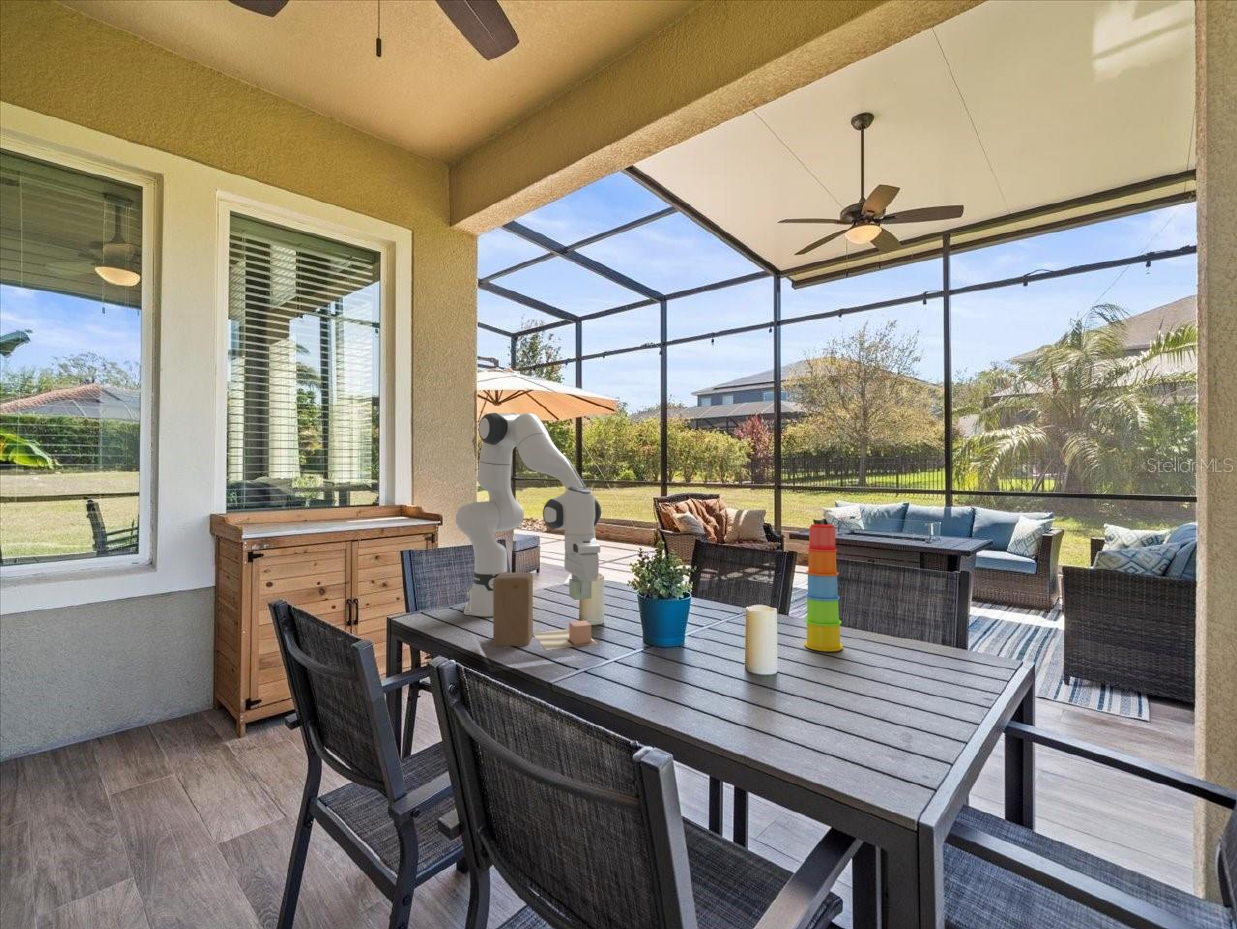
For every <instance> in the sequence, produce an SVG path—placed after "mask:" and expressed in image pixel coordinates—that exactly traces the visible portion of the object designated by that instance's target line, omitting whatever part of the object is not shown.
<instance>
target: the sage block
mask: <svg viewBox="0 0 1237 929" xmlns="http://www.w3.org/2000/svg"><path fill="white" fill-rule="evenodd" d="M568 582H569V584H568V585H569V586H568V588H569V590H568V592H569V593H568V595H569V597H570V598H571V599H572V600H574V601H577V600H590V599H592V581H590V582H589V586H588V594H585V595H583V594H581V593H580V588H581V583H582V582H581V579H580V578H577V579H572V578H569V580H568Z"/></svg>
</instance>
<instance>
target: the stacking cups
mask: <svg viewBox="0 0 1237 929" xmlns="http://www.w3.org/2000/svg"><path fill="white" fill-rule="evenodd" d="M834 526H835V525H834V524H826V523H825V524H823V523H822V524H819V523H815V524H813V523H811V524H810V526H809V531H808V532H809V533H808V534H809V537H808V538H809V539H808V540H809V541H808V542H809V544H808V547H807V548H806V549H807V551H808V554H807V556H808V557H807V558H808V562H807V564H808V567H807V568H808V570H806V572H805V573H806V574H807V594H805V598H806V604H807V605H806V614H807V615H806V618H805V619H804V623H806V641H805V642H804V646H805V647H806V648H807V649H811V650H813V651H819V652H828V653H829V652H831V653H832V652H839V651H841V650H843V649H844V646H843V645H842V644H841V630H840V629H841V628H840V625H841V624H842V621H841V620H840V615H839V614H840V613H839V611H840V610H839V600H840V598H841V597H840V596H839V595H838V592H839V590H838V575H839V572H838V571H837V551H838V549H837V547H836V527H834Z"/></svg>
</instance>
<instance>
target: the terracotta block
mask: <svg viewBox="0 0 1237 929" xmlns="http://www.w3.org/2000/svg"><path fill="white" fill-rule="evenodd" d="M568 623H569V624H568V625H569V626H568V629H569V640H570V641H572V642H573V643H574V644H582V643H590V642H591V638H592V624H591V623H589V621H587V619H586V620H577V621H569V622H568Z"/></svg>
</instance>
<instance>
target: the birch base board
mask: <svg viewBox="0 0 1237 929" xmlns="http://www.w3.org/2000/svg"><path fill="white" fill-rule="evenodd" d="M533 637H534V638H535V639H536V640H537V641H538V642H539V643H540V645H541V646H542V647H543V648H544V649H545V650H546V651H551V650H559V649H560V650H561V649H568V648H574V647H582V646H591V645H592V646H593V645H598V644H599V642H597V641H596V640H595V639H593V637H591V642H590V643H582V644H574V643H573V642H572V641H570V640H569V628H568V629H559V630H550V631H549V630H548V631H543V632H542V631H541V632H533Z"/></svg>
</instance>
